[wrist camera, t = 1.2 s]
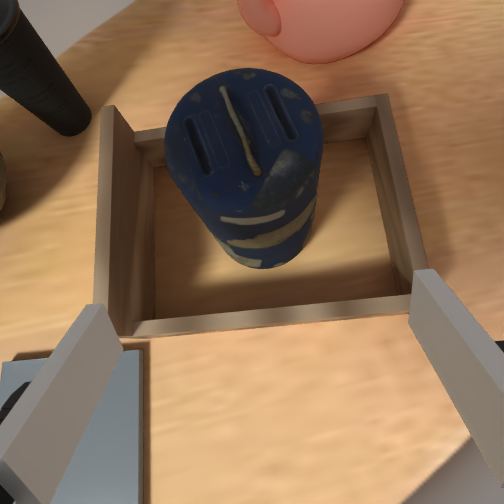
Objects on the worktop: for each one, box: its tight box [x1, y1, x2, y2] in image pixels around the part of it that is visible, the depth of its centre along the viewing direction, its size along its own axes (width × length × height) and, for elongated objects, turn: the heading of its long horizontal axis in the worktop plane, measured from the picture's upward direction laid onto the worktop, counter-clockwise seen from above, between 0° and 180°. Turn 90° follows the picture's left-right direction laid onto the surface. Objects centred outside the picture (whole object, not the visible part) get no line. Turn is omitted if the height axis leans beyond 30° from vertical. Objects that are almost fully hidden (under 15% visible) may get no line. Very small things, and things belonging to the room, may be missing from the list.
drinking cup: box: [0, 0, 91, 136], centre depth 32 cm, size 8×8×20 cm
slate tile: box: [0, 349, 143, 504], centre depth 31 cm, size 14×14×1 cm
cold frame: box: [93, 94, 429, 339], centre depth 31 cm, size 26×20×9 cm
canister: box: [164, 68, 323, 269], centre depth 27 cm, size 10×10×18 cm
